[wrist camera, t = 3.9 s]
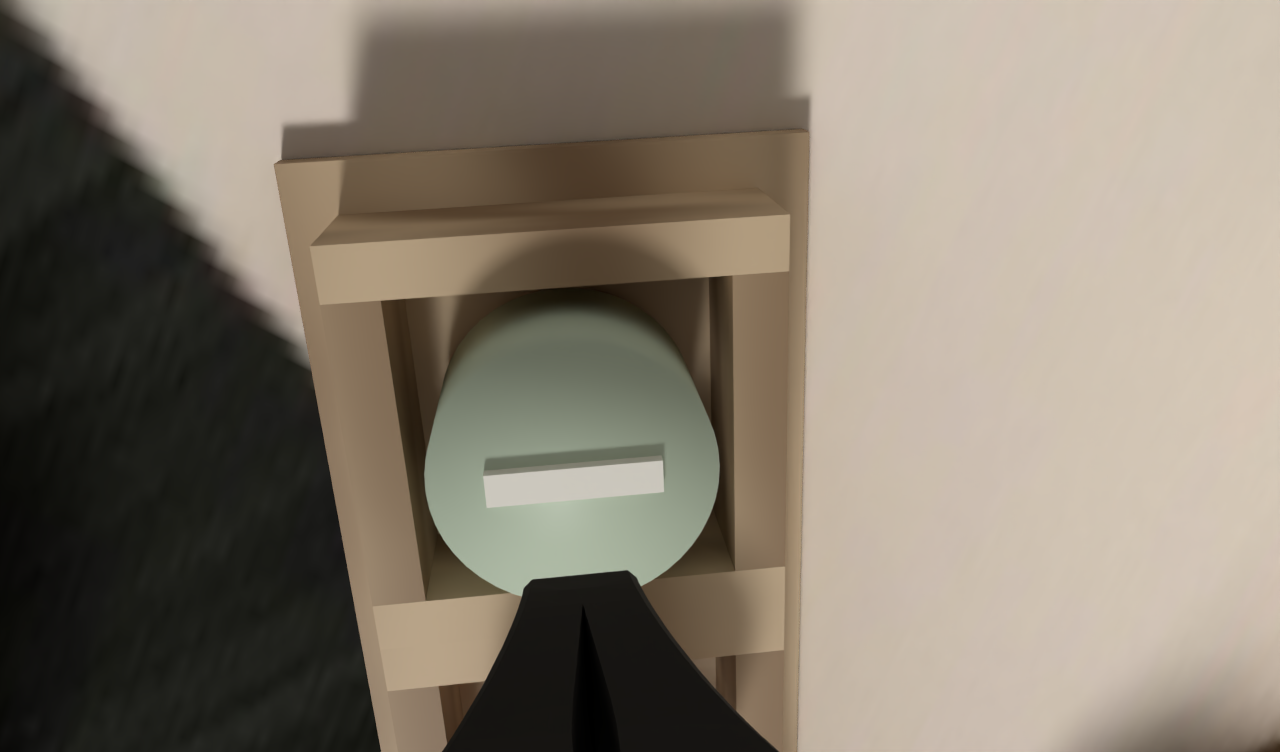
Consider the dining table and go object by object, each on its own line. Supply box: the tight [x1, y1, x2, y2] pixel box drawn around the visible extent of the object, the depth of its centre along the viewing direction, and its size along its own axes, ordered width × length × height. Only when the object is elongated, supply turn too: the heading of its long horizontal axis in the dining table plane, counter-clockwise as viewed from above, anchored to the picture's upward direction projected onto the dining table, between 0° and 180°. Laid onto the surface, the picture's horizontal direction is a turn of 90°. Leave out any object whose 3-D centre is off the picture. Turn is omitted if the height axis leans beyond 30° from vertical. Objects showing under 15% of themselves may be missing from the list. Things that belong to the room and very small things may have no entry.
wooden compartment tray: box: [274, 129, 809, 752], centre depth 22 cm, size 10×26×3 cm, turn 2°
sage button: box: [424, 288, 720, 597], centre depth 18 cm, size 5×5×3 cm
